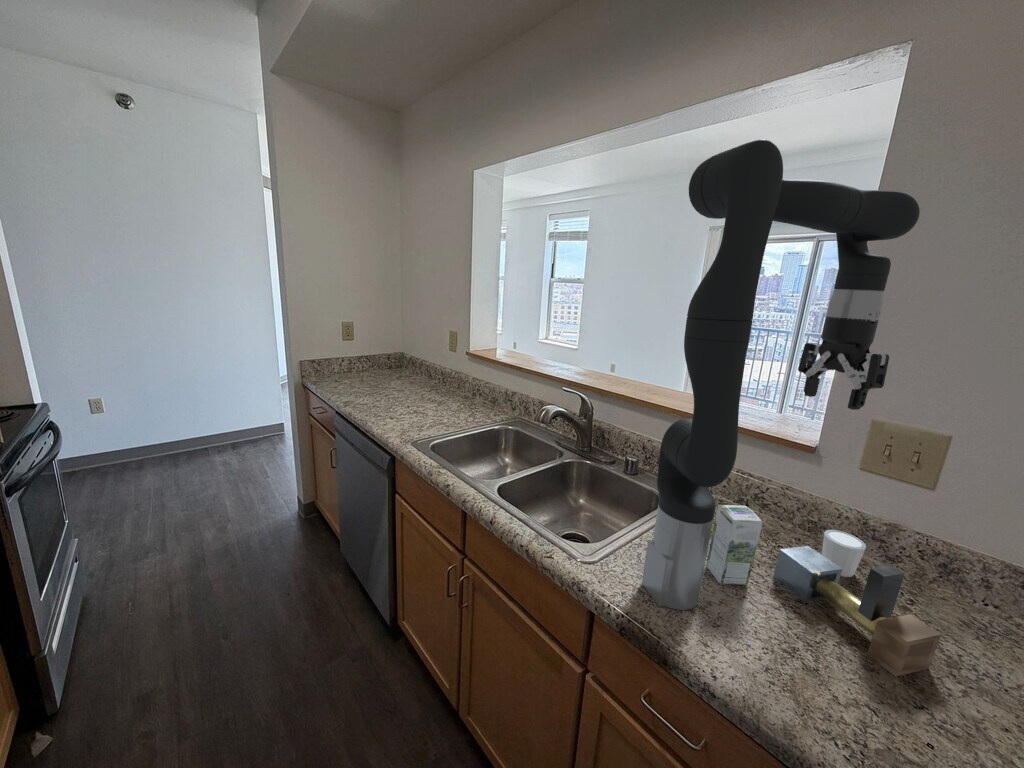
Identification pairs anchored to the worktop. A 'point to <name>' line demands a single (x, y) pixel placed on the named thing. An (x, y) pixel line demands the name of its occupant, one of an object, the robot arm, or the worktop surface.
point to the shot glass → (843, 550)
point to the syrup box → (733, 544)
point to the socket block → (903, 644)
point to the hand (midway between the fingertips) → (830, 402)
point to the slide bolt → (866, 596)
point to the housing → (804, 571)
